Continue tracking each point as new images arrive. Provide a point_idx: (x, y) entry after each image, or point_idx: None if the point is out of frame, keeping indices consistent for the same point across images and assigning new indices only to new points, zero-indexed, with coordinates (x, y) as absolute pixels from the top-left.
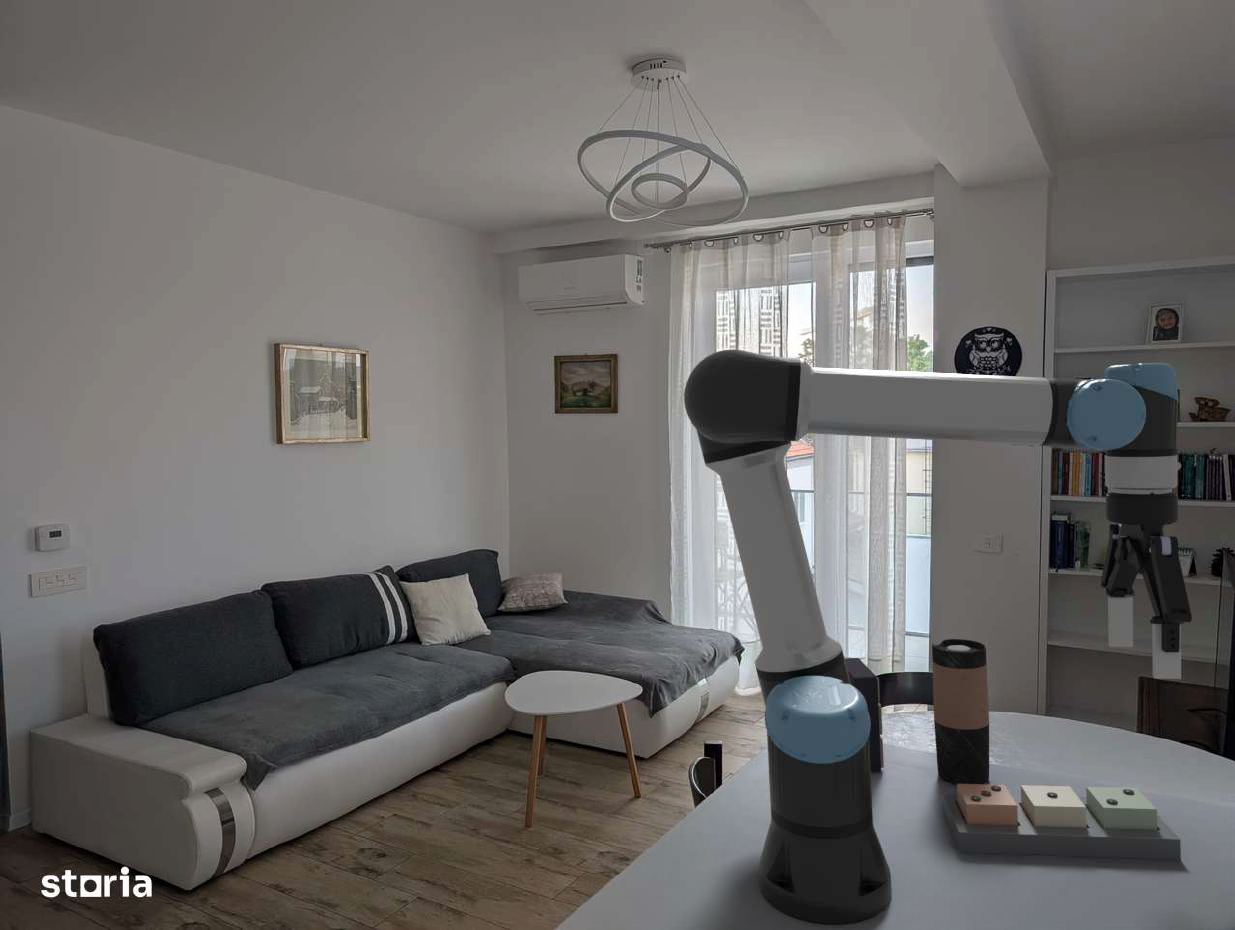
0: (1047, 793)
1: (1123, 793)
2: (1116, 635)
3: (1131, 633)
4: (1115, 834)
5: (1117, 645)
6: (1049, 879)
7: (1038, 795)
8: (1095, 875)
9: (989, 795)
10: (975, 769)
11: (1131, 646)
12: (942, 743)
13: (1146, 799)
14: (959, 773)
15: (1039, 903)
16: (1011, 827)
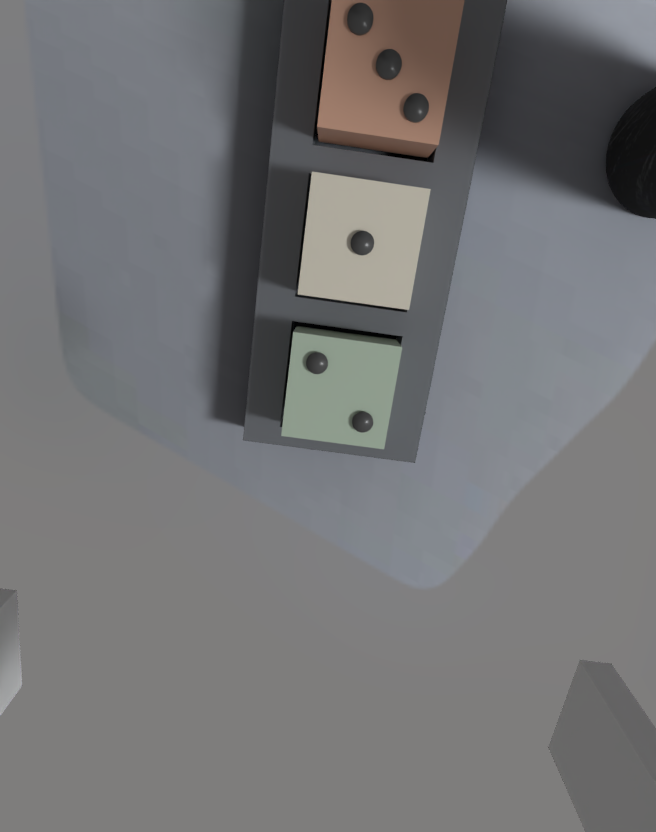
0: (368, 233)
1: (360, 409)
2: (603, 744)
3: (587, 820)
4: (265, 333)
5: (574, 695)
6: (179, 153)
7: (367, 209)
8: (195, 252)
9: (376, 70)
10: (629, 155)
11: (553, 745)
12: None
13: (326, 439)
14: (635, 112)
15: (90, 90)
16: (305, 117)
